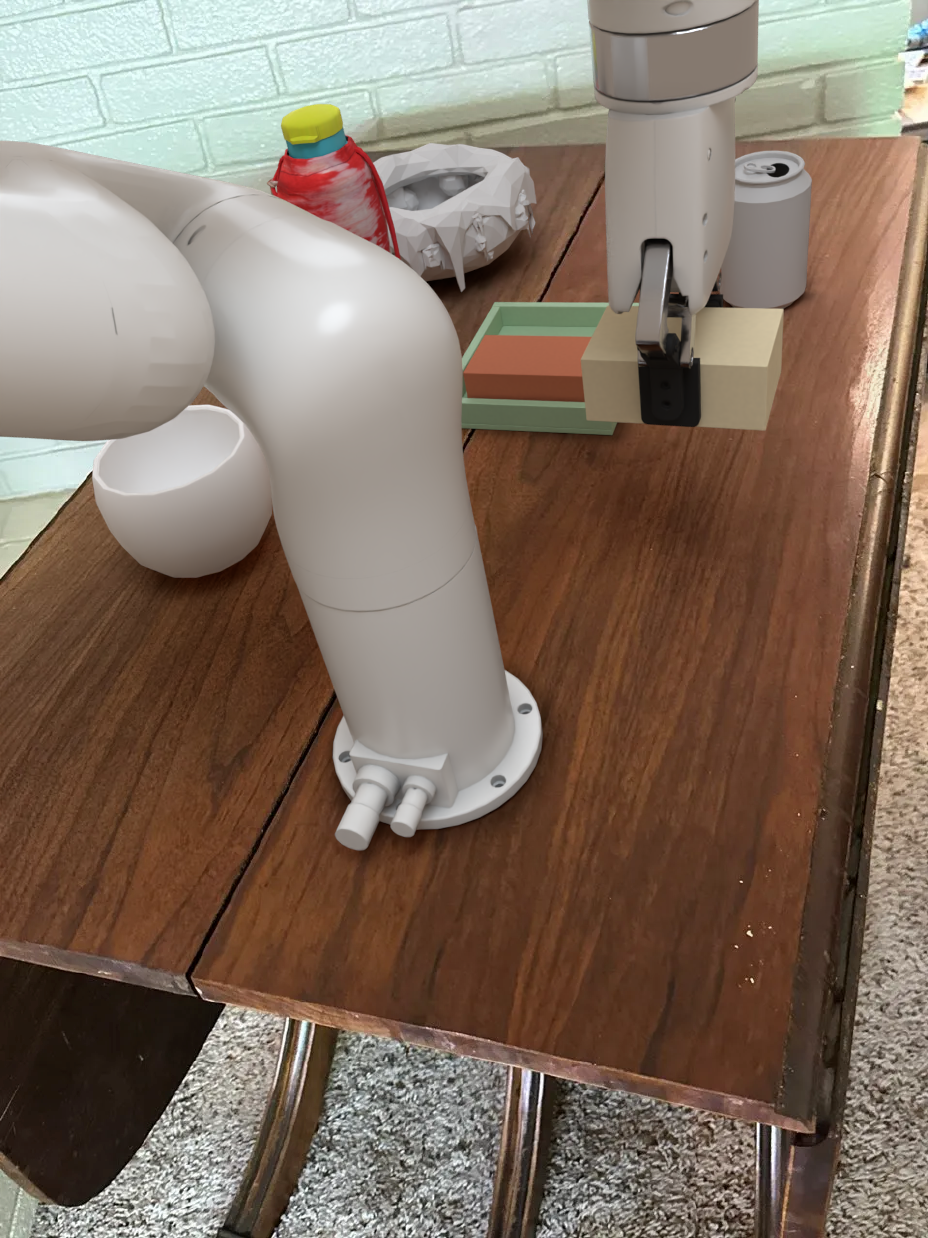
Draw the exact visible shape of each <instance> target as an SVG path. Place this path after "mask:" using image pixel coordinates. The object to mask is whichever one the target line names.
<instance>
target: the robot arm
mask: <svg viewBox="0 0 928 1238" xmlns="http://www.w3.org/2000/svg"><path fill="white" fill-rule="evenodd" d="M586 2H587V3H586V5H587V17H588V31H589V43H590V56H591V69H592V82H593V93H594V95H593V96H594V99H595V101H596V102H597V104H599V105H600V106H601V107H603V108H605V109H608V113H607V121H606V122H607V123H606V135H605V136H606V138H605V158H604V159H605V161H604V162H605V163H604V164H605V165H604V172H605V173H604V204H605V205H604V206H605V208H604V209H605V241H606V244H605V245H606V273H607V274H606V275H607V296H608V297H607V298H608V303H609V306H610V308H611V309H612V310H613V312H614V313H616V314H622V313H623V312H629V311H630V309H631V307H632V304H633V303H635V300H636V298H637V296H638V294H639V299H638V303H639V308H638V317H637V325H636V333H635V342H636V346H637V350H638V355H637V361H638V373H639V390H640V406H641V419H642V421H643V422H644V423H645V424H644V425H647V426H649V425H650V426H665V427H681V428H695V427H696V426H697V425H698V424H699V422H700V419H701V379H700V358H694V345H695V327H696V313H698V312H699V311H700V310H701V309H702V308H703V307H712V308H724V299H723V294H720V289H721V282H722V271H721V266H722V263H723V260H724V257H725V255H726V252H727V249H728V246H729V242H730V238H731V234H732V227H733V217H734V199H735V159H736V99H737V98H736V97H738V96H740V95H741V94H743V93H744V92H745V91H747V90H749V89H750V88H752V87H753V85H754V84H755V83H756V81H757V79H758V75H759V74H758V72H759V70H758V69H759V63H758V60H759V53H758V52H759V15H760V14H759V10H760V9H759V8H760V0H586ZM715 293H716V294H715ZM667 317H671V318H682V323H681V341H680V340H679V338H678V336H677V335H676V333H669V329H668V327H667ZM462 357H463V355H462V350H461V345H460V340H459V336H458V333H457V330H456V327H455V325H454V322H453V319H452V317H451V316H450V313H449V312H448V309H447V308H446V306H445V304H444V303H443V302H442V300H441V298H440V297H439V296H438V294H437V293H436V292H435V290H434V289H433V288H432V287H431V286H430V284H429V283H427V281H424V280H423V279H422V278H421V277H420V276H419V275H418V274H417V273H416V272H415V271H414V270H413V269H412V268H410V267H409V266H408V265H406V264H405V263H404V262H403V261H401V260H400V259H399V258H397V257H396V256H394V255H392V254H391V253H389V252H388V251H386V250H384V249H383V248H381V247H379V246H377V245H375V244H373V243H371V242H369V241H367V240H365V239H363V238H361V237H359V236H357V235H355V234H353V233H352V232H350V231H348V230H346V229H344V228H342V227H340V226H338V225H336V224H334V223H332V222H329V221H326V220H323V219H321V218H319V217H317V216H315V215H313V214H311V213H309V212H307V211H305V210H303V209H301V208H299V207H297V206H295V205H293V204H291V203H289V202H287V201H285V200H283V199H281V198H278V197H276V196H274V195H271V193H269V192H266V191H263V190H260V189H258V188H254V187H250V186H246V185H242V184H238V183H234V182H230V181H224V180H219V179H216V178H215V179H214V178H210V177H204V176H200V175H194V174H190V173H185V172H181V171H174V170H171V169H165V168H162V167H161V168H160V167H156V166H152V165H151V166H150V165H147V164H141V163H136V162H132V161H128V160H127V161H126V160H122V159H116V158H111V157H107V156H101V155H97V154H92V153H87V152H83V151H78V150H73V149H67V148H63V147H57V146H53V145H48V144H43V143H35V142H29V141H17V140H0V438H19V439H35V440H36V439H37V440H51V441H52V440H53V441H68V442H69V441H70V442H71V441H72V442H96V441H108V440H113V439H123V438H127V437H131V436H134V435H138V434H142V433H145V432H149V431H151V430H153V429H155V428H157V427H159V426H161V425H163V424H165V423H167V422H169V421H171V420H173V419H174V418H176V417H177V416H178V415H179V414H180V413H181V412H182V411H183V410H184V409H186V408H187V407H188V406H190V405H192V404H193V403H194V401H195V400H196V398H197V397H198V396H199V395H200V393H201V391H202V390H203V388H205V389H206V390H208V392H210V393H211V394H212V395H213V396H214V397H215V398H216V399H217V400H218V402H220V403H221V404H222V405H223V406H224V408H225V409H229V410H230V411H231V412H232V413H234V414H235V415H236V416H237V417H238V418H239V419H240V420H241V421H242V422H243V423H244V424H245V425H246V427H247V428H248V429H249V431H250V432H251V433H252V435H253V437H254V438H255V440H256V441H257V443H258V445H259V447H260V449H261V451H262V453H263V455H264V457H265V460H266V463H267V466H268V470H269V476H270V483H271V494H272V514H273V516H274V517H273V519H274V522H275V526H276V530H277V533H278V536H279V540H280V544H281V547H282V551H283V553H284V557H285V559H286V561H287V564H288V567H289V569H290V573H291V575H292V578H293V580H294V583H295V584H296V587H297V589H298V592H299V595H300V599H301V601H302V603H303V607H304V610H305V612H306V614H307V618H308V620H309V623H310V626H311V629H312V631H313V634H314V637H315V640H316V643H317V646H318V648H319V651H320V653H321V656H322V659H323V661H324V664H325V667H326V670H327V673H328V676H329V679H330V681H331V684H332V686H333V690H334V693H335V695H336V697H337V701H338V703H339V706H340V709H341V711H342V714H343V715H342V717H341V719H340V721H339V723H338V725H337V728H336V732H335V735H334V739H333V742H332V743H333V744H332V760H333V765H334V769H335V773H336V776H337V778H338V780H339V782H340V786H341V788H342V790H343V791H344V793H345V794H346V795H347V797H348V799H349V800H350V801H351V802H350V803H348V805H347V807H346V809H345V811H344V814H343V815H342V817H341V820H340V822H339V824H338V826H337V828H336V830H335V832H334V837H335V839H336V841H338V842H339V843H340V844H341V845H342V846H344V847H346V848H348V849H350V850H354V851H365V850H366V849H368V847H369V845H370V843H371V841H372V839H373V836H374V834H375V832H376V830H377V827H378V826H379V823H380V822H381V823H384V824H387V825H390V829H391V831H392V832H393V833H394V834H396V835H397V836H400V837H404V838H412V837H413V836H415V833H416V831H417V830H439V829H445V828H451V827H456V826H460V825H462V824H463V825H464V824H465V823H469V822H471V821H474V820H477V819H479V818H482V817H484V816H486V815H487V814H489V813H490V812H493V811H495V810H496V809H498V808H499V807H501V806H502V805H504V804H505V803H506V802H507V801H508V800H510V799H511V798H513V796H515V795H516V794H517V792H519V790H520V789H521V788H522V787H523V786H524V784H525V783H526V782H528V780H529V778H530V776H531V774H532V773H533V771H534V769H535V768H536V766H537V765H538V761H539V758H540V754H541V752H542V748H543V747H542V746H543V737H544V733H543V725H542V718H541V714H540V711H539V707H538V703H537V701H536V700H535V698H534V696H533V695H532V692H531V691H530V689H529V688H528V687H527V686H526V685H525V684H524V683H523V682H522V681H521V680H520V679H519V678H518V677H516V676H515V675H513V674H512V673H511V672H510V671H507V670H506V669H505V666H504V665H505V664H504V660H503V655H502V650H501V645H500V639H499V635H498V630H497V626H496V621H495V615H494V610H493V606H492V601H491V600H492V599H491V596H490V595H491V594H490V590H489V585H488V580H487V575H486V570H485V565H484V560H483V556H482V550H481V545H480V541H479V535H478V529H477V526H476V524H475V523H476V522H475V518H474V513H473V508H472V503H471V497H470V493H469V486H468V479H467V474H466V467H465V459H464V449H463V432H462V429H463V428H462V422H461V418H462V387H463V369H462ZM696 428H697V427H696Z"/></svg>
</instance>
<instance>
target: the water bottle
mask: <svg viewBox="0 0 928 1238" xmlns="http://www.w3.org/2000/svg"><path fill="white" fill-rule="evenodd" d="M280 128H281V132H282V136H283V139H284V141H285V144H286V147H287V148H285V150H284V154H283V155H282V156H280V158H279V160H278V163H277V168H276V171H275V173H274V175H273V177H272V178H270V179H269V180H268V181H267V182H266V185H267V186H268V187H269V191H270V194H271V195H274V196H276V197H278V198H281V199H283V200H285V201H287V202H289V203H291V204H293V205H295V206H297V207H299V208H301V209H303V210H305V211H307V212H309V213H311V214H313V215H315V216H317V217H319V218H321V219H323V220H326V221H329V222H332V223H334V224H336V225H338V226H340V227H342V228H344V229H346V230H348V231H350V232H352V233H353V234H355V235H357V236H359V237H361V238H363V239H365V240H367V241H369V242H371V243H373V244H375V245H377V246H379V247H381V248H383V249H384V250H386V251H388V252H389V253H391V250H390V242H389V234H388V227H389V231H390V235H391V239H392V243H393V247H394V252H395V256H396V257H397V258H399V259H400V260H401V258H400V253H399V248H398V243H397V238H396V233H395V228H394V224H393V220H392V216H391V213H390V209H389V205H388V201H387V198H386V194H385V190H384V186H383V183H382V181H381V179H380V176H379V174H378V172H377V170H376V168H375V166H374V164H373V163H374V162H373V161H372V159H371V158H370V156H369V155H368V153H366V151H364V149H363V148H362V147H360V146H359V145H358V144H357V143H356V141H355V140H354V139H353V137H352V136H350V135H348V134H345V129H344V120H343V117H342V113H341V109H340V108H339V107H338V106H336V105H334V104H331V103H316V104H309V105H305V106H302V107H299V108H297V109H294V110H292V111H290V112H289V113H287V114H286V115H284V116H283V117H282V119H281V122H280ZM387 224H388V226H387Z"/></svg>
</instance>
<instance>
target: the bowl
mask: <svg viewBox="0 0 928 1238" xmlns="http://www.w3.org/2000/svg"><path fill="white" fill-rule="evenodd" d="M372 163H373V164H374V166H375V168H376V170H377V172H378V174H379V176H380V179H381V181H382V183H383V186H384V190H385V194H386V198H387V201H388V205H389V209H390V213H391V216H392V220H393V224H394V228H395V233H396V238H397V243H398V248H399V253H400V258H401V261H403V262H404V263H405V264H406V265H408V266H409V267H410V268H412V269H413V270H414V271H415V272H416V273H417V274H418V275H419V276H420V277H421V278H422V279H423V280H424V281H425V282H430V281H431V282H432V281H437V280H438V281H439V280H443V279H449V278H456V282H457V285H458V287H459V291H460V292H461V293H462V292H463V291H464V290H465V289H466V282H465V274H468V273H469V272H472V271H474V270H478V269H480V268H484V267H486V266H488V265H491V263H493V262H494V261H495V260H497V259H498V258H499V257H500V256H501V255H502V254H504V253H505V252H506V251H507V250H509V249H510V247H511V246H512V244H513V243H514V241H515V240H516V239H517V237H518V236H519V234H520V233H521V231H524V230H527V231H526V232H527V235H528V238H529V239H532V237H531V234H532V235H534V232H533V231H534V228H535V225H536V220H535V218H534V210H533V208H532V204H535V205H536V204H538V203H537V196H536V189H535V183H534V180H533V178H532V176H531V173H530V167H528V166H526V165H524V163H523V162H522V161H521V159H520V158H519V157H514V158H513V157H510V156H509V155H507V154H505V153H503V152H501V151H498V150H495V149H492V148H486V147H485V148H484V147H483V148H482V147H477V146H472V145H468V144H464V143H457V144H442V143H435V142H429V143H426V144H424V145H422V146H419V147H417V148H415V149H412V150H411V151H405V152H400V153H393V154H389V155H386V156H382V157H380V158H378V159H376V160H375V161H374V162H372ZM387 226H388V224H387ZM388 234H389V242H390V250H391V254H392V255H394V256H395V252H394V247H393V243H392V239H391V235H390V231H389V227H388Z"/></svg>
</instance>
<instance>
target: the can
mask: <svg viewBox="0 0 928 1238" xmlns="http://www.w3.org/2000/svg"><path fill="white" fill-rule="evenodd" d="M805 165H806V162H805V161H804V158H803V157H801V156H799V155H798V154H796V153H793V152H790V151H785V150H761V151H755V152H751V153H748V154H744V155H741V156H740V157H736V158H735V199H734V217H733V227H732V234H731V238H730V242H729V246H728V249H727V252H726V255H725V257H724V260H723V263H722V266H721V271H722V282H721V289H720V292H719V294H723V301H725V302H726V303H727V304H729V305H730V306H732V308H766V309H785V308H787V307H789V306H791V305H792V304H793V303H794V302H795V301H796V300H798V299H799V298H800V297H801V296H802V295H803V294H804V293H805V291H806V289H807V288H806V287H807V281H808V280H807V279H808V263H809V262H808V260H809V245H810V243H809V242H810V224H811V223H810V222H811V205H812V189H813V187H812V186H813V179H812V177H811V175H810V173H808V171H807V170H806V169H805Z"/></svg>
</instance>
